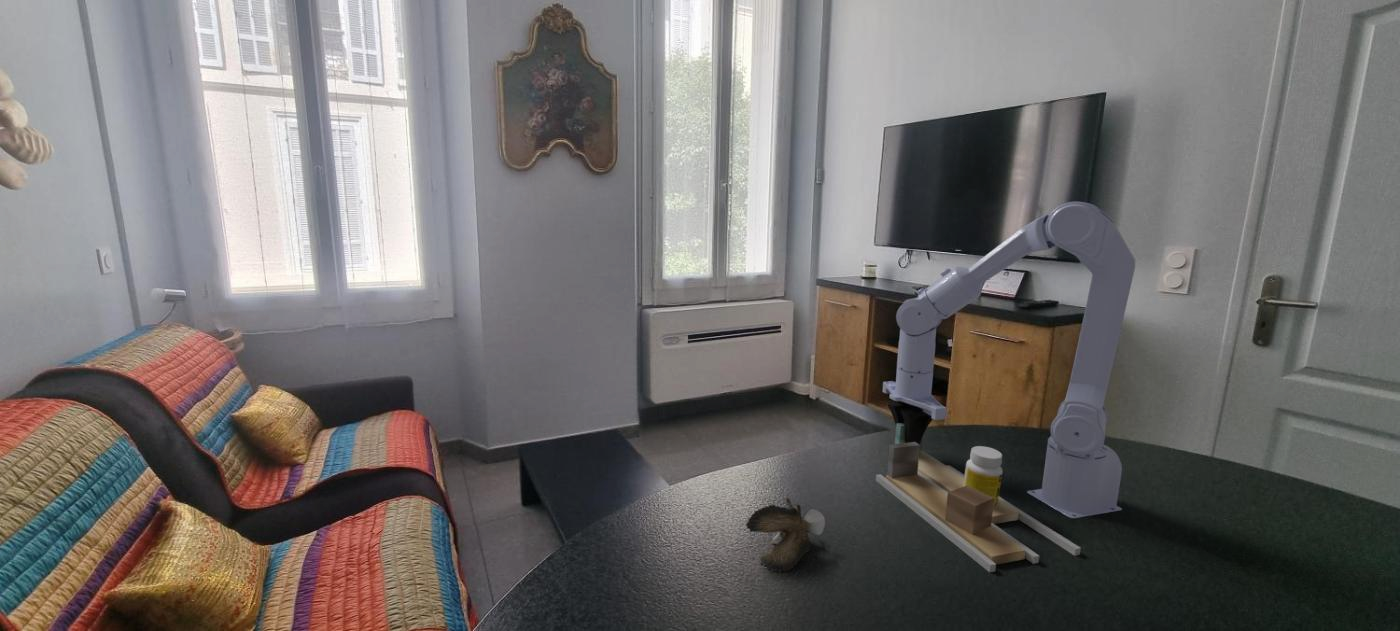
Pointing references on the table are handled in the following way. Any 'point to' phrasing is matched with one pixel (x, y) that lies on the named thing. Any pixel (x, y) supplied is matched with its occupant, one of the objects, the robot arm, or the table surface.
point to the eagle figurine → (786, 533)
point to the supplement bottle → (984, 471)
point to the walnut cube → (969, 509)
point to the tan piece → (951, 478)
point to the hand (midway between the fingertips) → (908, 445)
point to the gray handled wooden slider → (944, 504)
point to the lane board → (972, 550)
